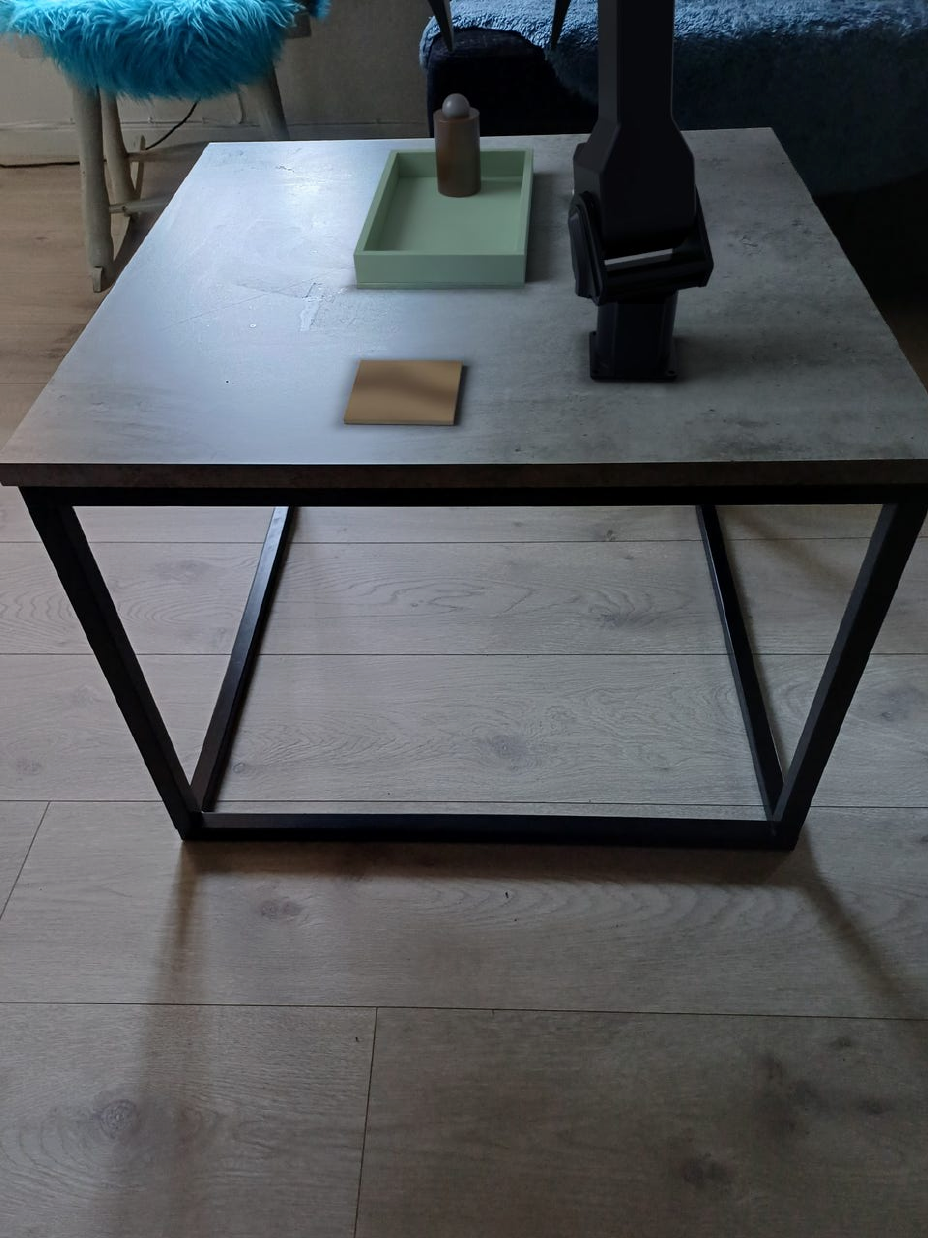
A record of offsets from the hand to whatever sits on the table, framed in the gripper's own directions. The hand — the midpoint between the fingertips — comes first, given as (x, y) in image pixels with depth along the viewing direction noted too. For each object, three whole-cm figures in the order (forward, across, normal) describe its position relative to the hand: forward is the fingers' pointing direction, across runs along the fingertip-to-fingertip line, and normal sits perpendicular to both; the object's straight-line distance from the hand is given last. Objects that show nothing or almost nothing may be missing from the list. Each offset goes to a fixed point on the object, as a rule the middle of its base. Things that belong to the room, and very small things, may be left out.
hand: (501, 50), depth 85 cm
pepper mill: (+12, +4, 0) cm, 13 cm away
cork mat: (+13, +5, +36) cm, 38 cm away
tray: (+13, +4, +8) cm, 16 cm away
